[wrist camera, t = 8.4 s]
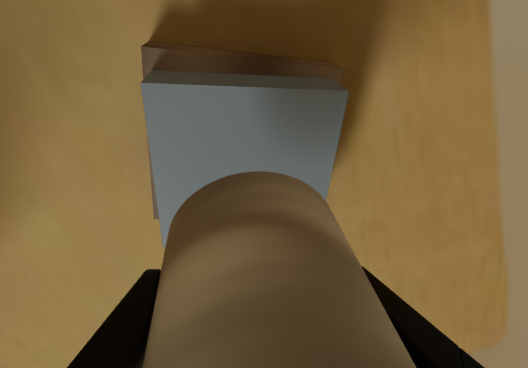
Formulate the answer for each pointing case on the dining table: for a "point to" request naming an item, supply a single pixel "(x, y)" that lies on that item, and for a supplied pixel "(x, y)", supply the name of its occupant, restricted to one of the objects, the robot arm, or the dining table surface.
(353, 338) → the birch cylinder
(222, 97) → the slate top slab
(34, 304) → the dining table surface
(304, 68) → the walnut base slab
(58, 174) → the dining table surface
